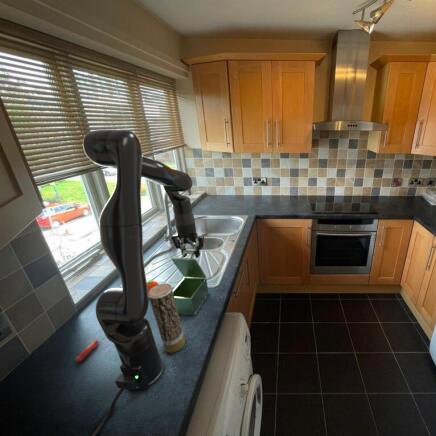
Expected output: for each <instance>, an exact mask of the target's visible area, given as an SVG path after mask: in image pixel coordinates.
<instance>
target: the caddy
mask: <svg viewBox="0 0 436 436" xmlns="http://www.w3.org/2000/svg"><path fill="white" fill-rule="evenodd" d="M172 291H173V295H174V299H175V303H176V307H177V310H178V314H179V315H183V316H185V315H186V316H194V317H195V316H196V315H197V314H198V312H199V310H200V308H201V307H202V305H203V304H204V302H205V300H206V299H207V297H208V296H209V295H210V292H209V287H208V281H207V277H206V278H195V277H184V276H183V277H182V279H181V280H180V281H179V282H178V283H177V285H176V286H175V287H174V288H173V289H172Z"/></svg>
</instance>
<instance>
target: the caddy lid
mask: <svg viewBox="0 0 436 436" xmlns="http://www.w3.org/2000/svg"><path fill="white" fill-rule="evenodd" d="M194 251H195V250H194V249H186V250H183V255H182V254H181V257H174V256H171V257H170V260H171V262H172V263H173V264H174V266H175V267H176V268H177V270H178V271H179V273H180V274H181V275H182V276H183V278H184V277H193V278H206V279H207V275H206V274H205V272H204V270H203V268H202V267H201V265H200V264H199V262H198V260H197V258H194V257H195V252H194ZM185 254H187V255H190V257H184V256H185Z"/></svg>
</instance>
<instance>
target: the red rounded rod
mask: <svg viewBox="0 0 436 436" xmlns="http://www.w3.org/2000/svg"><path fill="white" fill-rule="evenodd" d="M99 343H100V341H99V340H97V339H96V340H93V341H91V343H90V344H89V345H87V347H85V349H84V350H82V351H81V353H79V354H78V355H77V356H76V358H75V362H76V363H80V362H82V361H83V360H84V359H85V358H86V357H87V356H88V355H90V353H91V352H92V351H93V350H94V349H95V348H96V347H97V346H98V345H99Z"/></svg>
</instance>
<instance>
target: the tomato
mask: <svg viewBox="0 0 436 436" xmlns="http://www.w3.org/2000/svg"><path fill="white" fill-rule="evenodd" d="M156 285H159V283H158V282H157V281H155V280H154V279H150V280H148V281H147V288H148V292H149V290H150V289H151V288H153V287H154V286H156Z"/></svg>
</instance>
